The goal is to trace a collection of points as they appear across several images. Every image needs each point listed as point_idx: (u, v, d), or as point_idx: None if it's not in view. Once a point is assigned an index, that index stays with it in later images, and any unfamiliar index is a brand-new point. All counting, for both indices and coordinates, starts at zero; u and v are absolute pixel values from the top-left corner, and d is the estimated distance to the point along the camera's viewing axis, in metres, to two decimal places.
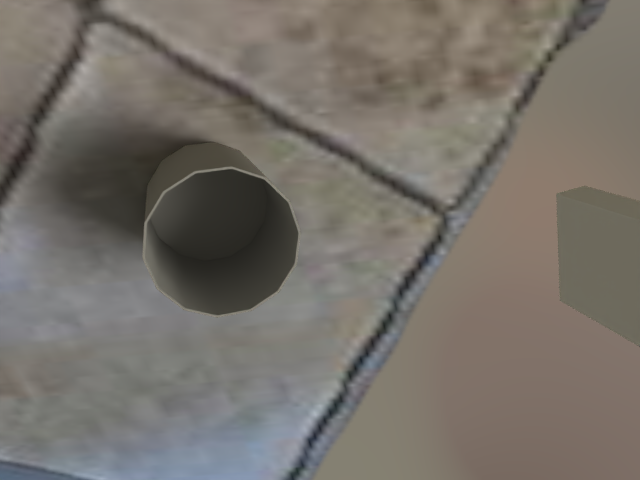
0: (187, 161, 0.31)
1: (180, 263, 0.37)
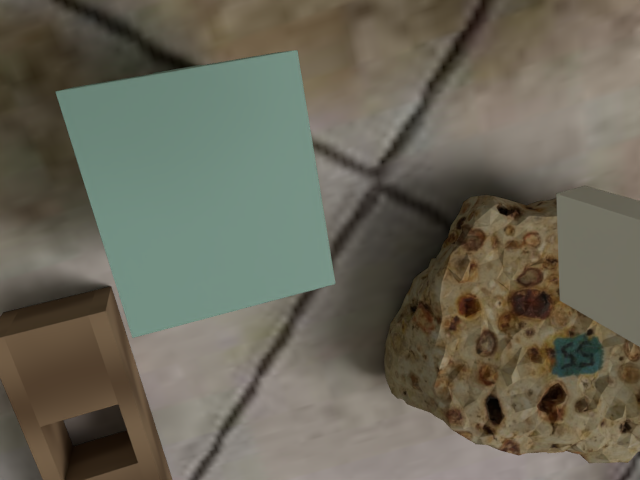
0: None
1: None
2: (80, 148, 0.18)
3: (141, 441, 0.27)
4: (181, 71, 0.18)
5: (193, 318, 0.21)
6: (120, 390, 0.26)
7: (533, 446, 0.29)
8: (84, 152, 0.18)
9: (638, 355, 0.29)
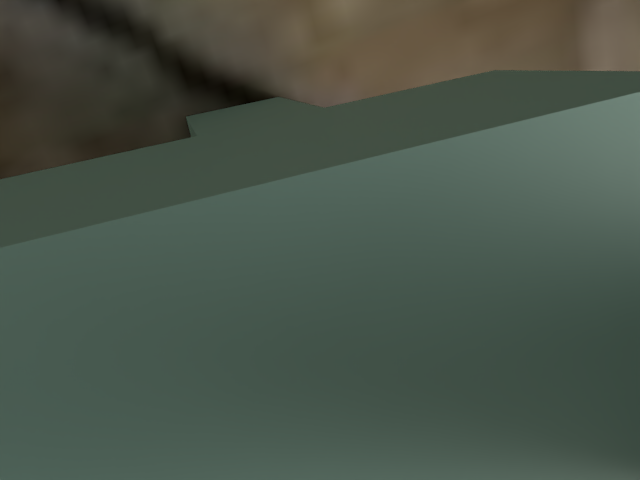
0: None
1: None
2: None
3: None
4: (341, 169, 0.05)
5: None
6: None
7: None
8: None
9: None
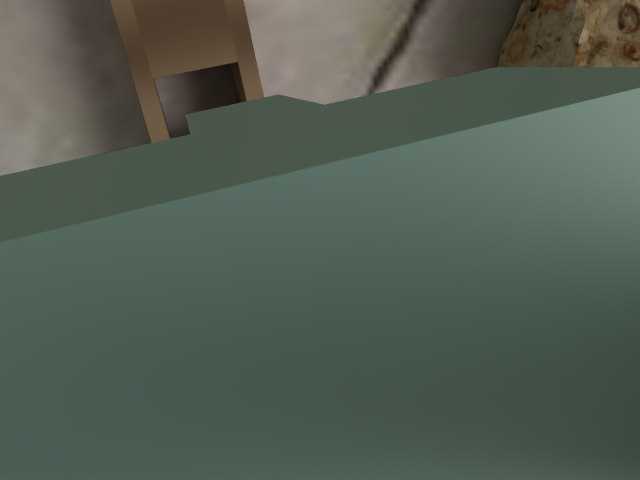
0: None
1: None
2: None
3: None
4: (342, 164, 0.05)
5: None
6: (240, 43, 0.23)
7: None
8: None
9: None
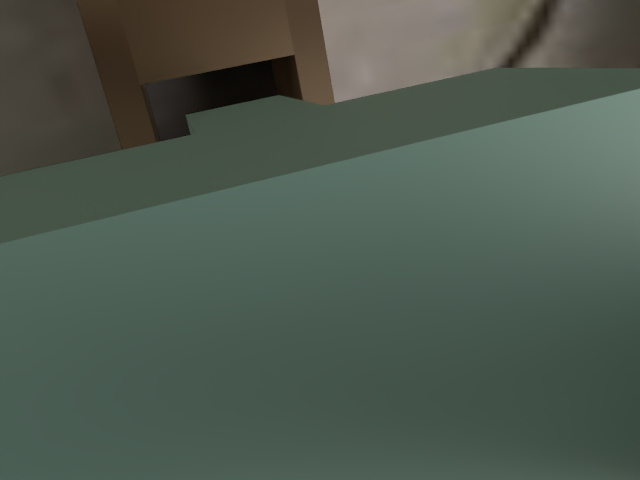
0: None
1: None
2: None
3: None
4: (342, 165, 0.05)
5: None
6: (300, 21, 0.12)
7: None
8: None
9: None
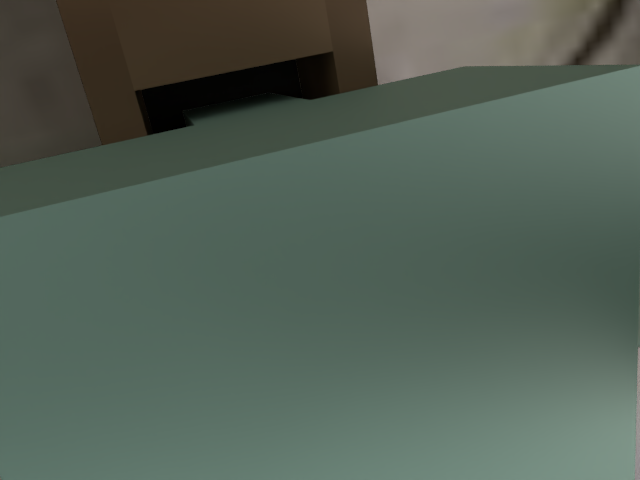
0: None
1: None
2: None
3: None
4: (322, 144, 0.06)
5: None
6: (341, 8, 0.10)
7: None
8: (11, 423, 0.05)
9: None
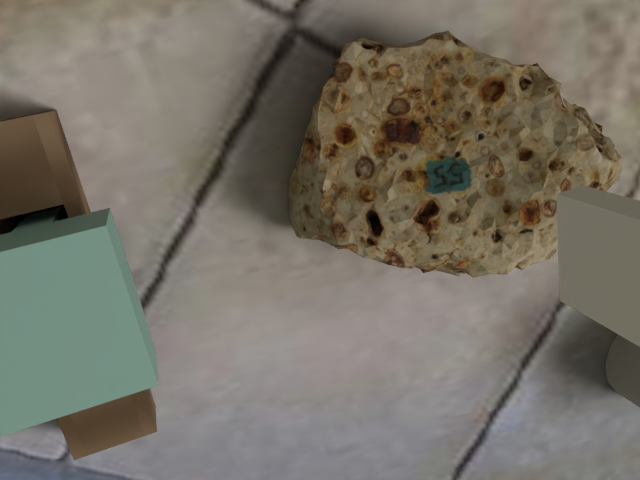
0: None
1: None
2: None
3: None
4: (16, 248, 0.25)
5: (43, 420, 0.28)
6: (64, 190, 0.29)
7: (416, 259, 0.33)
8: None
9: (502, 172, 0.33)
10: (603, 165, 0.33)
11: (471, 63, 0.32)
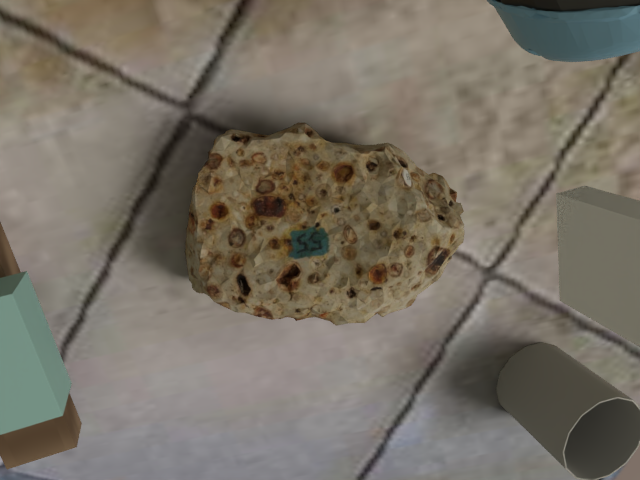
0: (566, 379, 0.49)
1: None
2: None
3: None
4: None
5: None
6: None
7: (283, 312, 0.39)
8: None
9: (355, 239, 0.39)
10: (443, 232, 0.39)
11: (323, 151, 0.38)
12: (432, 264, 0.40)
